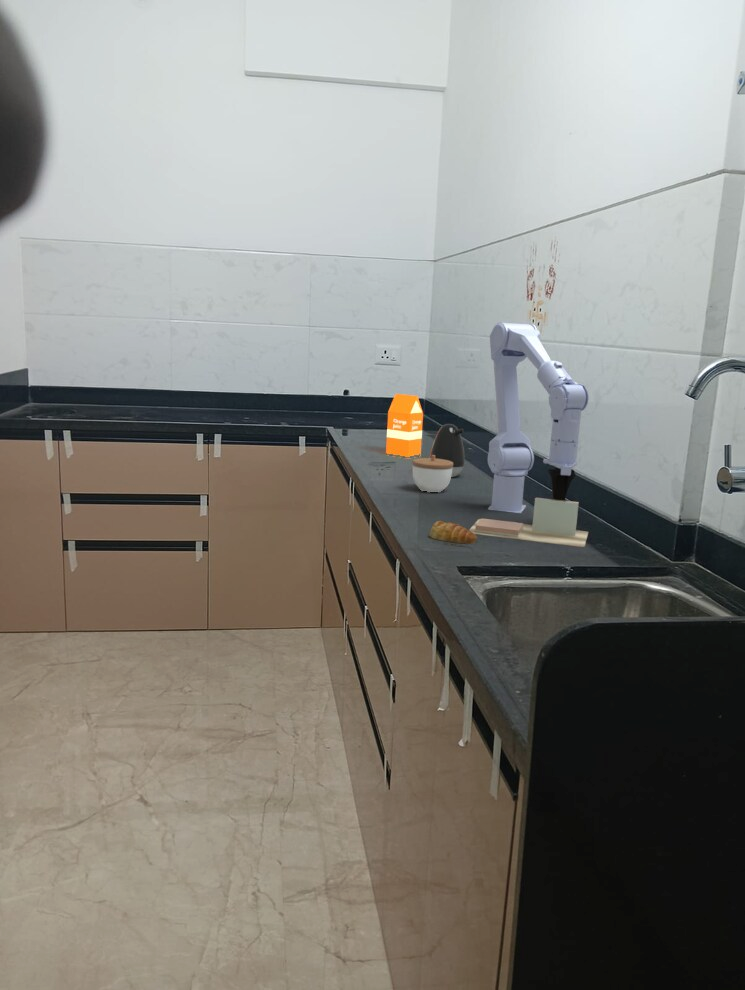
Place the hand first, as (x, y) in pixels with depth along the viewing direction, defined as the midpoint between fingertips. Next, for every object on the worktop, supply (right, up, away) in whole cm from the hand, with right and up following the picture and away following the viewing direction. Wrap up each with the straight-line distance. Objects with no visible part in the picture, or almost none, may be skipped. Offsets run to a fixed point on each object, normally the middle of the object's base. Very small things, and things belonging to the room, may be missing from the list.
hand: (558, 502), depth 181 cm
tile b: (-2, -6, -3) cm, 7 cm away
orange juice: (-30, +14, +93) cm, 99 cm away
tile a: (-12, -5, -1) cm, 13 cm away
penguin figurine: (-19, +7, +60) cm, 63 cm away
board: (-7, -7, -4) cm, 11 cm away
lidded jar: (-25, +3, +38) cm, 46 cm away
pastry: (-24, -8, -12) cm, 28 cm away
